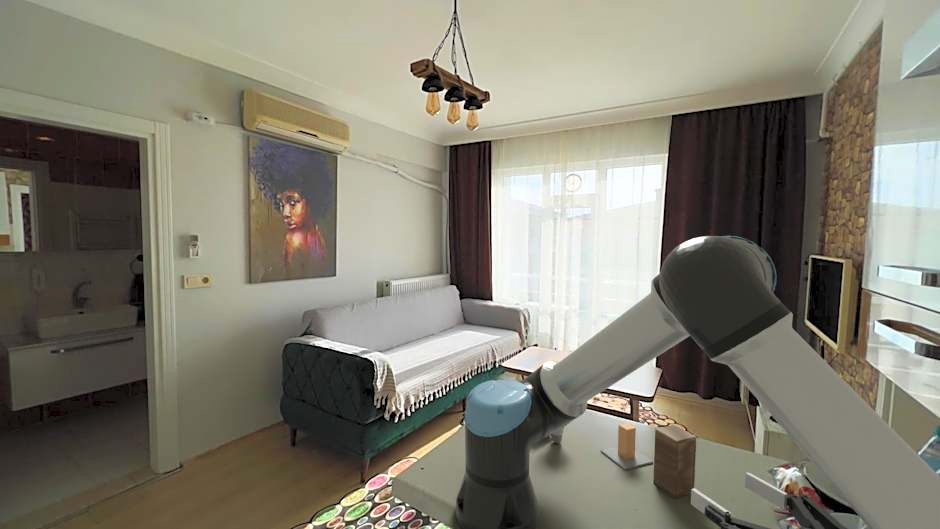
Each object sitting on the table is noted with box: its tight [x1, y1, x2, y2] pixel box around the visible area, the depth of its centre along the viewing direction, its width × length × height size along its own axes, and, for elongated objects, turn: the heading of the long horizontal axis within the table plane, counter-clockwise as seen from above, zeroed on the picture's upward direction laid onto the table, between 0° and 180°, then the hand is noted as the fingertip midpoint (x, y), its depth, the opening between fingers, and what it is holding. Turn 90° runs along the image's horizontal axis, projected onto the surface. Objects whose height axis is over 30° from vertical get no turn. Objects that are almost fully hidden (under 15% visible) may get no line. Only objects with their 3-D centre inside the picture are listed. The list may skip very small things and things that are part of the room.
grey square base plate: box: [600, 422, 654, 471], centre depth 90 cm, size 8×8×7 cm
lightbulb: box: [550, 426, 565, 444], centre depth 96 cm, size 6×6×11 cm
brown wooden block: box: [653, 424, 697, 499], centre depth 78 cm, size 5×5×12 cm
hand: (720, 487), depth 69 cm, fingers open, 13 cm apart
